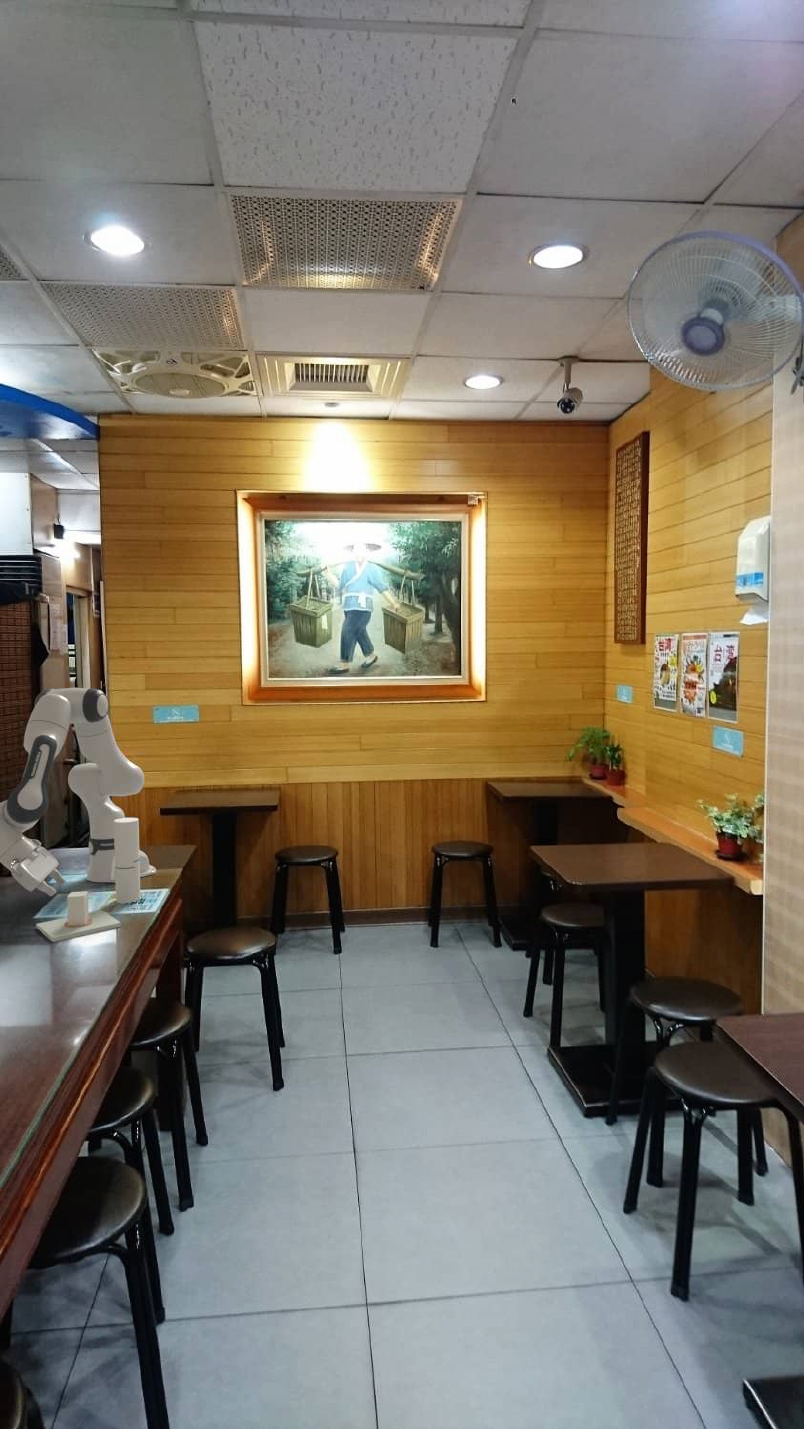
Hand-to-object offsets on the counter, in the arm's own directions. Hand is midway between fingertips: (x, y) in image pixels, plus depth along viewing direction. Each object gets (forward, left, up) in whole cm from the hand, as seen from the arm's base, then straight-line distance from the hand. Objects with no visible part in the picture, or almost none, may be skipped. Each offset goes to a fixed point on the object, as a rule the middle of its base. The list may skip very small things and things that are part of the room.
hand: (59, 888), depth 213 cm
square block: (-4, +3, -10) cm, 11 cm away
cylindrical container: (-24, -12, -11) cm, 29 cm away
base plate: (-4, +3, -11) cm, 12 cm away
